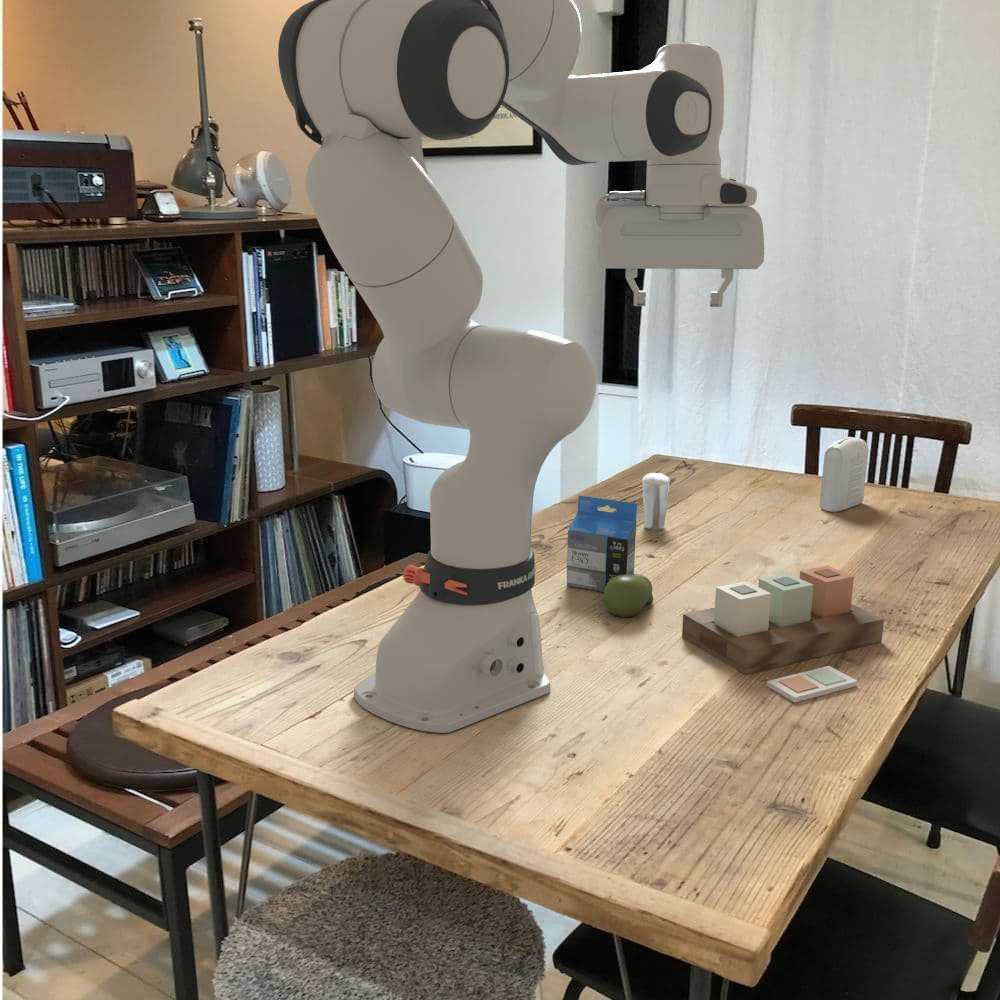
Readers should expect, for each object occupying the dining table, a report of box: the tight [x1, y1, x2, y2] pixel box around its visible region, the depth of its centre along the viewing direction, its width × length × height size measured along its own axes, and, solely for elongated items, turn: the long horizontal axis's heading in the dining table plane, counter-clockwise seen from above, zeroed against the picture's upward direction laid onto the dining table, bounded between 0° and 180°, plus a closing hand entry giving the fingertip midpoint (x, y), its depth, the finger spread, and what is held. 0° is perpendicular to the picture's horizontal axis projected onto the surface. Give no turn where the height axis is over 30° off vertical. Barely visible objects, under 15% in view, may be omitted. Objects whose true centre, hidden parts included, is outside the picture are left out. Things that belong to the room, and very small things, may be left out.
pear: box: [603, 573, 654, 618], centre depth 135 cm, size 6×5×10 cm
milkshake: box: [641, 471, 675, 531], centre depth 168 cm, size 4×5×10 cm
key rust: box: [799, 565, 855, 618], centre depth 127 cm, size 4×4×5 cm
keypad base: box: [681, 603, 885, 676], centre depth 126 cm, size 21×12×3 cm, turn 116°
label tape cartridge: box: [566, 495, 638, 593], centre depth 141 cm, size 9×4×12 cm, turn 65°
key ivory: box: [714, 581, 771, 637], centre depth 122 cm, size 4×4×5 cm
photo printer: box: [819, 436, 869, 513], centre depth 181 cm, size 10×4×12 cm, turn 134°
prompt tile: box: [766, 665, 858, 703], centre depth 114 cm, size 9×4×1 cm, turn 116°
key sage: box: [757, 572, 813, 627], centre depth 125 cm, size 4×4×5 cm
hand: (677, 306), depth 129 cm, fingers open, 8 cm apart
